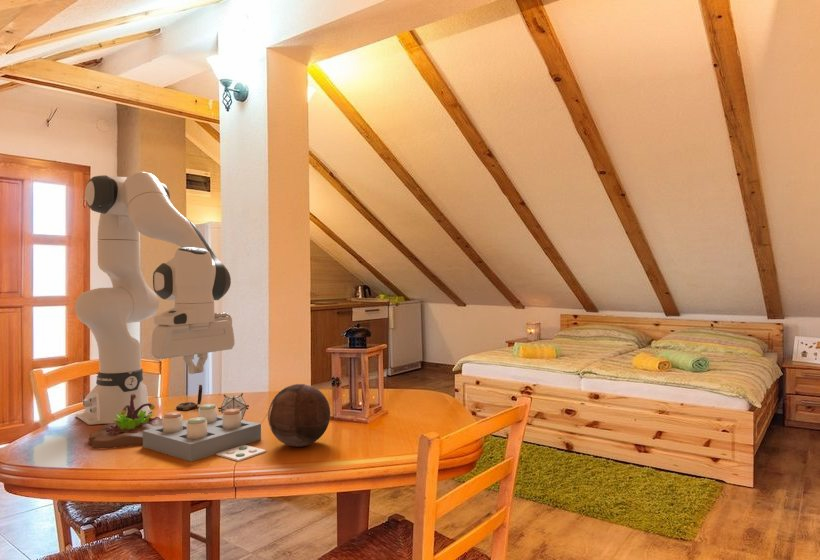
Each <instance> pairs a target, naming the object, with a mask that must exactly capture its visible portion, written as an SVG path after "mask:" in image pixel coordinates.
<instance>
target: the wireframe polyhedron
mask: <svg viewBox="0 0 820 560" xmlns="http://www.w3.org/2000/svg"><path fill="white" fill-rule="evenodd" d="M243 395H244V393H243V392H242V393H241V394H240V395H226V394H223V398H224V399H223V401H222V403H221V406H220V407H217V410H218V412H219V413H221V414H222V413H224V412H223V411H224V410H227V409H240V411H241V420H244V416H245V413H246V410H249V407H250V405H249V404H246V402H245V399H244V398H243Z"/></svg>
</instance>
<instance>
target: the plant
mask: <svg viewBox="0 0 820 560" xmlns="http://www.w3.org/2000/svg"><path fill="white" fill-rule="evenodd" d="M130 399H131V401H130V406H129V405H126V406H125V407H124V408H123V409H122V410H121V414H117V416H116V417H117V418H118V419H119V420H115V419H112V420H113V421H114V422H115V423H107V424H105V425H104V424H103V425H102V426H99V427H98V428H97V429H96V430H95V432H93V433H90V434H89V436H88V445H89V446H92V448H93V449H97V448H108V449H114V447H116V448H122V447H121V446H123V447H128V446H129V447H131V446H130V445H133V446H143V431H144V430H148V429H152V428H156V427H160V426H163V418H160V417H159V416H155V417H153V415H154V414H155V413H154V412H153V413H149V414H148V415H147V416H146V415H145V414H146V411H143V410H141V409H142V408H143V407H144V406H149V408H150V409H151V410H152V411H153V410H155V404H153V403H149V402H148V403H147V404H143V405H141V406H140V407H139V408H138V409H136V410H135V407H134V401H133V400H134V399H136V395H135V394H132V395H131V397H130ZM126 408H127V410H126ZM140 410H141V411H140ZM126 411H127V414H126ZM124 414H126V416H125V415H124ZM145 416H146V417H145Z"/></svg>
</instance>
